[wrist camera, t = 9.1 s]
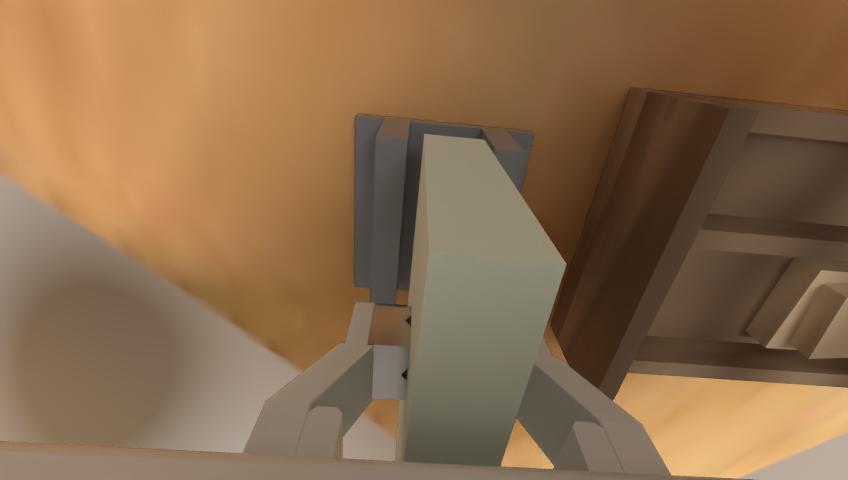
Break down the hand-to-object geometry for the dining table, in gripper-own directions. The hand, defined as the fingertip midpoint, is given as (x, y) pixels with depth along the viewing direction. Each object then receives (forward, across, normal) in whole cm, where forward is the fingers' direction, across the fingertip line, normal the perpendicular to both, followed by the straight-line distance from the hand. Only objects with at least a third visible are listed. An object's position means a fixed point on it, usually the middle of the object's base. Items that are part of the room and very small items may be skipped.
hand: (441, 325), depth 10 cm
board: (+3, 0, +1) cm, 3 cm away
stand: (+8, 0, 0) cm, 8 cm away
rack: (+7, -16, 0) cm, 17 cm away
